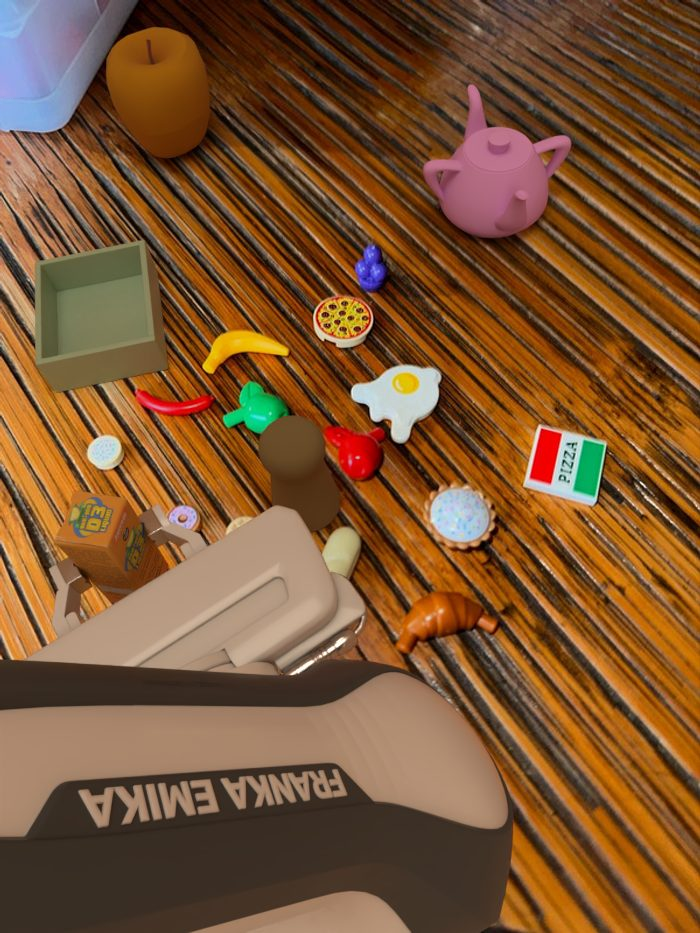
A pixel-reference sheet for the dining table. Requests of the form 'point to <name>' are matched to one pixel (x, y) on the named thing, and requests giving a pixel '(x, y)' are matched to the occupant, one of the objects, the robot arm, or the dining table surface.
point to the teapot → (494, 177)
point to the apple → (160, 90)
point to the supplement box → (109, 544)
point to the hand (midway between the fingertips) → (107, 539)
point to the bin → (98, 317)
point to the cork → (299, 470)
